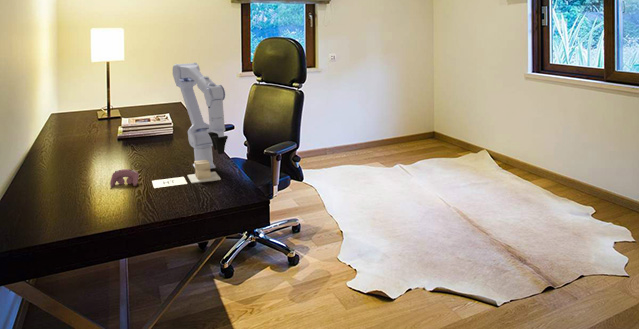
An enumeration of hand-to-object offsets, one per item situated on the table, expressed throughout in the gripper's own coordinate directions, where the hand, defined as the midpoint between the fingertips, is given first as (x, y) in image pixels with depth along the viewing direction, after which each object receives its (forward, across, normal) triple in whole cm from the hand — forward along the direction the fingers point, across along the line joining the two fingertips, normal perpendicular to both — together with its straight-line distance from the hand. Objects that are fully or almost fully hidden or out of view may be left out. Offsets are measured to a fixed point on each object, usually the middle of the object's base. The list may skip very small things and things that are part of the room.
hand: (219, 151), depth 197 cm
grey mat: (+9, +2, -7) cm, 12 cm away
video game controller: (+10, -3, -36) cm, 37 cm away
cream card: (+9, +2, -20) cm, 22 cm away
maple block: (+9, +2, -7) cm, 12 cm away
